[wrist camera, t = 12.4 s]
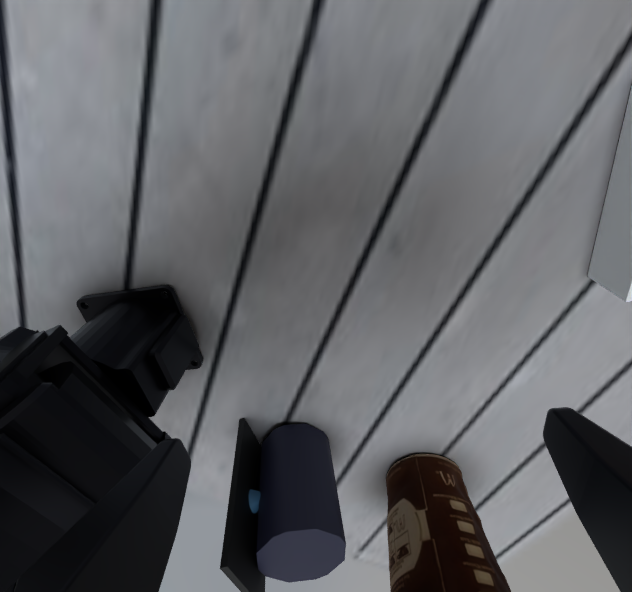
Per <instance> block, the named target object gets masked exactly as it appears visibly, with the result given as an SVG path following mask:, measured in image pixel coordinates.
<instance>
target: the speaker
mask: <svg viewBox="0 0 632 592" xmlns="http://www.w3.org/2000/svg"><path fill="white" fill-rule="evenodd" d="M345 548H346V542H345V536H344V530H343V524H342V518H341V512H340V506H339V500H338V493H337V487H336V481H335V475H334V469H333V463H332V457H331V451H330V445H329V439H328V437H327V436H326V434H325V433H324V432H323V431H321V430H319V429H317V428H315V427H312V426H310V425H308V424H293V425H283V426H281V427H279V428H276V429H274V430H273V431H272V432H271V433H270V435H269V436H268V437H267V438H266V439H265V440H264V442H263V443H262V446H261V445H260V444H259V442H258V440H257V439H256V437H255V435H254V434H253V432H252V430H251V428H250V427H249V425H248V423H247V422H246V420H245V418H243V419H240V420H239V428H238V436H237V443H236V451H235V458H234V466H233V474H232V481H231V489H230V496H229V504H228V512H227V519H226V527H225V534H224V542H223V550H222V558H221V566H220V569H221V570H222V571H223V572H224V573H225V574H226V576H227V577H228V578H229V579H230V580H231V581H232V582H233V583H234V584H235V586H236V587H237V588H238V589H239V590H240V591H241V592H265V576H267V577H270V578H274V579H278V580H282V581H285V582H296V581H304V580H313V579H317V578H320V577H323V576H325V575H327V574H329V573H330V572H331V571H332V570H333V569H335V568H336V567H337V566H338V565H339V564H341V563H342V562H343V561H344V560H345Z"/></svg>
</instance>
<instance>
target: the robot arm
mask: <svg viewBox="0 0 632 592" xmlns="http://www.w3.org/2000/svg"><path fill="white" fill-rule="evenodd" d="M163 291H165V292H167V293H168V295H165V294H164V293H163ZM85 303H87V304H88V305H86V304H85ZM77 307H78V308H79V310H80V312H81V314H82V315H83V317H84V319H85V320H86V322H87V323H86V324H85V325H84V326H83V327H81V328H80V329H79V330H78V331H77V332H76V333H75V334H73V335H72V336H71V337H70V338H69V337H68V336H67V334H68V332H67V331H66V330H65V329H64V328H63V327H62V326H61V325H58V326H56V327H54V328H52V329H49V330H47V331H42V332H39V331H38V330H37V331H33V330H29V329H26V328H22V327H18V328H16V329H14V330H12V331H10V332H9V333H7V334H6V335H4V336H3V337H1V338H0V592H158V591H159V588H160V585H161V582H162V579H163V576H164V572H165V569H166V566H167V563H168V559H169V556H170V553H171V549H172V546H173V543H174V540H175V536H176V533H177V529H178V525H179V520H180V516H181V511H182V506H183V502H184V497H185V492H186V488H187V483H188V478H189V473H190V469H191V459H190V456H189V454H188V453H187V451H186V449H185V447H184V445H183V443H182V441H181V440H180V439H178V438H175V439H171V437H170V436H169V435H168V434H167V433H166V432H162V431H161V430H160V429H159V428H158V427H157V426H156V425H155V424H154V423H153V422H152V421H151V420H150V419H149V418H148V417H152V416H154V415H155V414H156V412H157V410H158V409H159V407H160V405H161V403H162V402H163V400H164V398H165V397H166V395H167V393H168V391H169V390H174V389H175V388H176V386H177V384H178V383H179V381H180V379H181V377H182V375H183V374H184V372H185V370H190V369H198V368H200V367H201V365H202V363H203V358H202V355H201V353H200V351H199V348H198V347H199V344H198V342H197V339H196V337H195V335H194V332H193V330H192V327H191V325H190V323H189V320H188V318H187V316H186V315H185V314H184V312H183V310H182V307H181V305H180V302H179V300H178V298H177V295H176V293H175V291H174V289H173V288H172V287H171V286H168V285H160V286H153V287H146V288H139V289H131V290H124V291H117V292H110V293H103V294H96V295H88V296H83V297H82V298H80V299H79V300H78V301H77ZM193 360H194V361H197V362H194V361H193ZM543 437H544V441H545V444H546V446H547V449H548V451H549V453H550V455H551V458H552V460H553V462H554V464H555V467H556V469H557V471H558V473H559V476H560V478H561V480H562V482H563V485H564V487H565V489H566V491H567V494H568V496H569V498H570V500H571V502H572V505H573V507H574V509H575V511H576V513H577V515H578V516H579V518H580V520H581V522H582V524H583V526H584V528H585V529H586V531H587V533H588V535H589V536H590V538H591V540H592V542H593V544H594V545H595V547H596V549H597V550H598V552H599V554H600V556H601V557H602V559H603V561H604V563H605V564H606V567H607V568H608V570H609V571H610V574H611V575H612V577H613V579H614V580H615V582H616V584H617V586H618V588H619V589H620V591H621V592H632V447H631V446H630V445H628V444H627V443H625V442H623V441H622V440H620V439H619V438H617V437H616V436H614V435H612V434H611V433H609V432H608V431H606V430H605V429H603V428H602V427H600V426H598V425H597V424H595V423H594V422H592V421H591V420H589V419H587V418H586V417H584V416H583V415H581V414H580V413H578V412H576V411H575V410H573V409H571V408H568V407H563V408H552V409H550V410H549V411H548V412H547V417H546V421H545V426H544V430H543Z"/></svg>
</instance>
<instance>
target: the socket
mask: <svg viewBox="0 0 632 592" xmlns="http://www.w3.org/2000/svg"><path fill="white" fill-rule="evenodd" d="M587 277H589V278H590V279H592V280H593V281H595V282H596V283H598V284H599V285H601V286H603V287H604V288H606V289H607V290H609V291H610V292H612V293H613V294H615V295H616V296H618V297H619V298H621V299H622V300H624V301H625V302H629V301H632V87H631V92H630V96H629V100H628V104H627V109H626V113H625V117H624V121H623V126H622V130H621V134H620V139H619V143H618V147H617V151H616V156H615V160H614V164H613V168H612V173H611V177H610V181H609V186H608V190H607V194H606V198H605V203H604V207H603V211H602V215H601V220H600V224H599V228H598V233H597V237H596V241H595V245H594V250H593V254H592V258H591V262H590V267H589V271H588V275H587Z"/></svg>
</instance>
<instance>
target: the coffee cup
mask: <svg viewBox="0 0 632 592" xmlns="http://www.w3.org/2000/svg"><path fill="white" fill-rule="evenodd" d="M386 484H387V485H386V486H387V495H388V516H387V527H388V547H389V571H390V586H391V592H511V590H510V588H509V586H508V583H507V580H506V579H505V576H504V574H503V573H502V571H501V569H500V567H499V565H498V563H497V560H496V558H495V556H494V554H493V551H492V549H491V547H490V544H489V542H488V540H487V538H486V536H485V533H484V531H483V528H482V524H481V520H480V518H479V516H478V514H477V513H476V511H475V509H474V507H473V505H472V502H471V500H470V498H469V496H468V493H467V489H466V486H465V484H464V482H463V479H462V472H461V470H460V469H459V467H458V466H457V465H456V464H455V463H454V462H453V461H451V460H449V459H447V458H445V457H442V456H439V455H434V454H415V455H411V456H409V457H406V458H404V459H402V460H400V461H398V462H396V463H395V464H394V465H393V466H392V467H391V468H390V470H389V472H388V474H387V477H386Z"/></svg>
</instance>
